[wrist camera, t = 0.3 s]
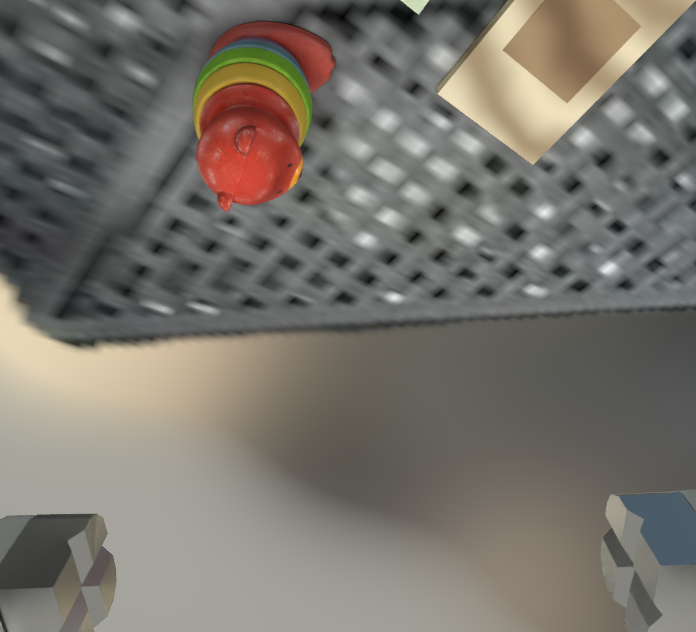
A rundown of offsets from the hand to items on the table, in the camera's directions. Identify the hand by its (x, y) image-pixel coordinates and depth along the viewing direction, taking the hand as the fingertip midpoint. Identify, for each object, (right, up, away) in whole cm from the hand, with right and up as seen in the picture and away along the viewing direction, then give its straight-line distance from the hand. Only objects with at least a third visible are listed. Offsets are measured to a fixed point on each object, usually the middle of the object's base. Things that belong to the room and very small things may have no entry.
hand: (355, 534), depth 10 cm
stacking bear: (-7, +25, +46) cm, 53 cm away
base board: (+18, +27, +44) cm, 55 cm away
